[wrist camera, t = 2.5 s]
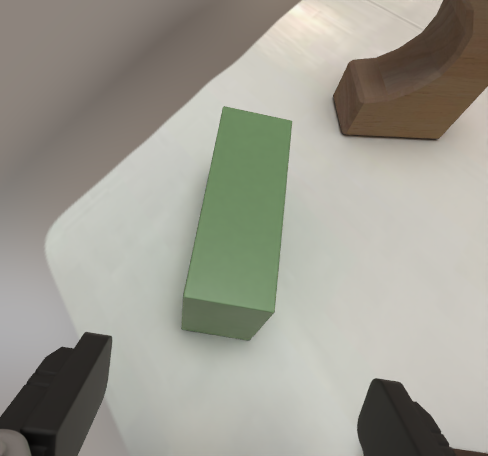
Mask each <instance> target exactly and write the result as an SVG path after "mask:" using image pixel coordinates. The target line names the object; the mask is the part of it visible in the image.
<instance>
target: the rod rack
mask: <svg viewBox="0 0 488 456" xmlns="http://www.w3.org/2000/svg"><path fill="white" fill-rule="evenodd" d="M452 449H453V448H452ZM453 451H454V452H455V454H456V456H488V454H487V453H480V452H473V451H466V450H460V449H453ZM364 456H365V455H364Z"/></svg>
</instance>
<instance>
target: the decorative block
mask: <svg viewBox="0 0 488 456" xmlns="http://www.w3.org/2000/svg"><path fill="white" fill-rule="evenodd" d="M487 86H488V0H443V2H442V4H441V6H440V8H439V11H438V13H437V15H436V16H435V17H434V18H433V20H432V21H431V22H430V23H429V25H428V26H427V27H426V28H425V29H424V31H423V32H422V33H421V34H419V35H418V36H416V37H415V38H413V39H412V40H410V41H409V42H407V43H406V44H405V45H403V46H402V47H400V48H398V49H396V50H394V51H391V52H389V53H386V54H384V55H382V56H379V57H377V58H369V59H357V60H352V61H351V62H349V63H348V66H347V68H346V70H345V72H344V74H343V76H342V78H341V80H340V82H339V85H338V87H337V89H336V91H335V93H334V95H333V97H334V101H335V105H336V109H337V113H338V118H339V122H340V126H341V130H342V132H343V133H344V134H351V135H370V136H389V137H410V138H433V139H439V138H440V137H441V136H442V135H443V134H444V133H445V132H446V130H447V129H448V128H449V127H450V126H451V125H452V124H453V123H454V122H455V121H456V120H457V119H458V118H459V117H460V115H461V114H462V113H463V112H464V111H465V110H466V109H467V108H468V107H469V106H470V105H471V104H472V103H473V101H474V100H475V99H476V98H477V97H478V96H479V95H480V94H481V93H482V92H483V91H484V90H485V88H486V87H487Z"/></svg>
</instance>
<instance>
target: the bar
mask: <svg viewBox="0 0 488 456" xmlns="http://www.w3.org/2000/svg"><path fill="white" fill-rule="evenodd" d="M291 128H292V121H290V120H286V119H281V118H276V117H272V116H267V115H262V114H258V113H253V112H248V111H243V110H239V109H234V108H229V107H225V106H224V107H223V110H222V115H221V119H220V124H219V129H218V134H217V138H216V143H215V148H214V152H213V157H212V162H211V167H210V171H209V176H208V181H207V186H206V190H205V195H204V200H203V205H202V209H201V214H200V219H199V224H198V228H197V233H196V238H195V242H194V247H193V252H192V257H191V261H190V266H189V271H188V276H187V280H186V285H185V290H184V295H183V308H182V327H181V329H182V330H188V331H194V332H200V333H206V334H212V335H218V336H224V337H231V338H237V339H243V340H250V339H251V338H252V337H253V336H254V335H255V334H256V333H257V331H258V330H259V329H260V328H261V327H262V326H263V325H264V324H265V322H266V321H267V320H268V319H269V318H270V317H271V316H272V314H273V313H274V312H275V301H276V290H277V279H278V269H279V258H280V247H281V236H282V225H283V215H284V204H285V193H286V182H287V171H288V161H289V150H290V139H291Z"/></svg>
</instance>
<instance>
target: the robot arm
mask: <svg viewBox="0 0 488 456" xmlns="http://www.w3.org/2000/svg"><path fill="white" fill-rule="evenodd" d="M111 348H112V336H108V335H102V334H96V333H89V332H85V333H84V334H83V336H82V337H81V339H80V340H79V342H78V343H77V345H76V347H75V348H74V349H72V348H66V347H61V348H59V349H58V350H56V351H55V352H53V353H51V354H50V355H48V356H47V357H46V358H45V359H44V360H43V361H42V363H41V364H40V365H39V367H38V368H37V369H36V371H35V373H34V374H33V375H32V376H31V378H30V379H29V380H28V381H27V384H26V385H24V386H23V388H22V389H21V390H20V392H19V393H18V394H17V396H16V397H15V398H14V400H13V401H12V402H11V404H10V405H9V406H8V408H7V409H6V410H5V412H4V413H3V414H2V415H1V417H0V456H78V453H79V451H80V449H81V447H82V445H83V442H84V440H85V438H86V435H87V434H88V431H89V429H90V427H91V425H92V422H93V420H94V418H95V416H96V414H97V411H98V409H99V407H100V405H101V403H102V400H103V397H104V394H105V391H106V387H107V382H108V375H109V366H110V357H111ZM357 431H358V438H359V441H360V444H361V447H362V449H363V452H364V455H365V456H456V454H455V452H454V451H453V449H452V448H451V447H449V443H448V441H447V440H446V438H445V437H444V435H443V434H441V430H440V429H439V427H438V426H437V424H436V423H435V421H434V419H433V418H432V416H431V415H430V414H429V413H428V412H427V411H426V410H424V409H423V408H422V407H421V406H420V405H419V404H418V403H417V402H413V401H412V399H411V398H410V396H409V395H408V393H407V391H406V390H405V388H404V386H403V385H402V384H401V383H400V382H396V381H390V380H384V379H377V378H375V379H373V380H372V382H371V384H370V387H369V390H368V392H367V395H366V398H365V401H364V404H363V406H362V409H361V412H360V415H359V418H358V424H357Z"/></svg>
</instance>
